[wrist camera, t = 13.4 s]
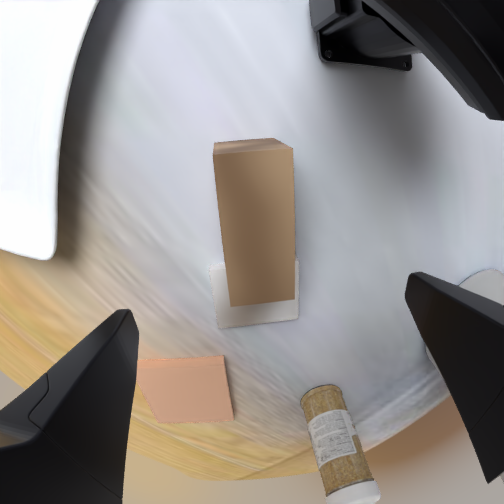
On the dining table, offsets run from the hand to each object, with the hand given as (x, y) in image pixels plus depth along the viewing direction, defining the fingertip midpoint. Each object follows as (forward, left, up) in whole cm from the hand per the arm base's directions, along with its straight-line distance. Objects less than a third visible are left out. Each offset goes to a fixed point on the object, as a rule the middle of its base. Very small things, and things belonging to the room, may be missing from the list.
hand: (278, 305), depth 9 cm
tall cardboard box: (0, +3, -11) cm, 11 cm away
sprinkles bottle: (-6, +21, -11) cm, 25 cm away
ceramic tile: (+7, +13, -11) cm, 18 cm away
